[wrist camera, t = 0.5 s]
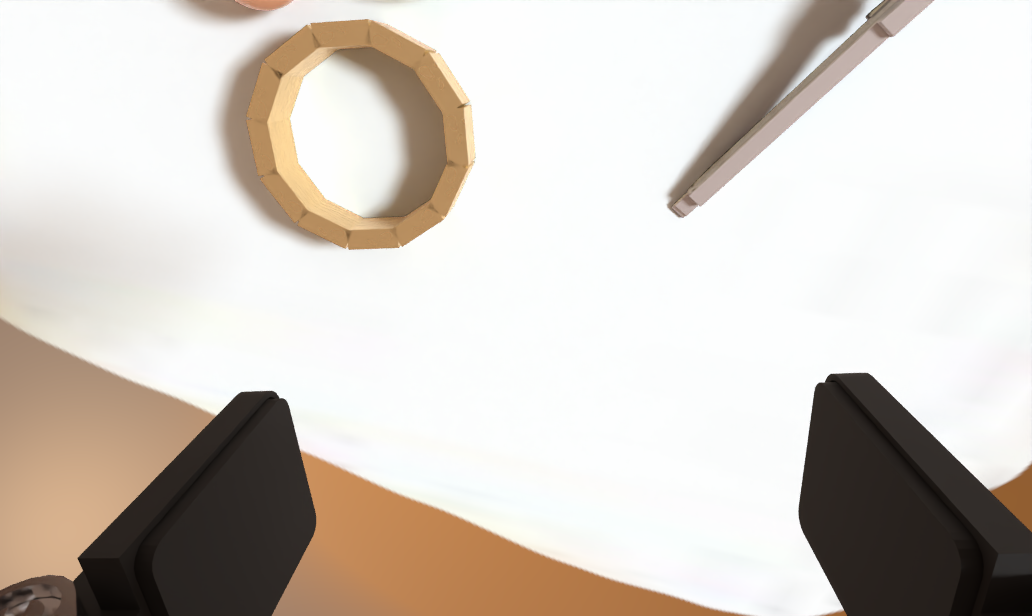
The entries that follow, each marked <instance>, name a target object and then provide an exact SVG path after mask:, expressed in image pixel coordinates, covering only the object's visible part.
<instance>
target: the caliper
mask: <svg viewBox="0 0 1032 616" xmlns="http://www.w3.org/2000/svg"><path fill="white" fill-rule="evenodd" d="M933 1H934V0H884V1H883V2H881V3H880V4H879V5H878V6H877V7H875V8H874V9H873V10H872V11H871V12H870V13H869V14H868V15H867V16H866V19H867V21H866V22H865V23H864V24H863V25H862V26H861V27H860V28H859V29H858V30H857V31H856V32H855V33H854V34H852V35H851V36H850V37H849V38H848V39H847V40H846V41H845V42H844V43H843V44H842V45H841V46H840V47H839V48H837V49H836V50H835V51H834V52H833V53H832V54H831V55H830V56H829V57H828V58H827V59H826V60H825V61H824V62H823V63H821V64H820V65H819V66H818V67H817V68H816V69H815V70H814V71H813V72H812V73H811V74H810V75H809V76H808V77H806V78H805V79H804V80H803V81H802V82H801V83H800V84H799V85H798V86H797V87H796V88H795V89H794V90H793V91H791V92H790V93H789V94H788V95H787V96H786V97H785V98H784V99H783V100H782V101H781V102H780V103H779V104H778V105H777V106H775V107H774V108H773V109H772V110H771V111H770V112H769V113H768V114H767V115H766V116H765V117H764V118H763V119H761V120H760V121H759V122H758V123H757V124H756V125H755V126H754V127H753V128H752V129H751V130H750V131H749V132H747V133H746V134H745V135H744V136H743V137H742V138H741V139H740V140H739V141H738V142H737V143H736V144H735V145H734V146H732V147H731V148H730V149H729V150H728V151H727V152H726V153H725V154H724V155H723V156H722V157H721V158H720V159H718V160H717V161H716V162H715V163H714V164H713V165H712V166H711V167H710V168H709V169H708V170H707V171H706V172H705V173H704V174H703V175H702V176H701V177H700V178H699V179H698V180H697V181H696V182H695V183H694V184H693V185H692V186H691V187H690V188H689V189H688V190H687V193H685V194H684V195H683V196H682V197H681V198H680V199H679V200H678V201H677V202H676V203H675V204H674V205H673V206H672V207H671V208H672V209H673V210H675V211H676V212H677V213H678V214H679V215H680V216H681V217H682V218H684V217H685V216H687V215H688V214H689V213H690V212H691V211H693V210H694V209H695V208H696V207H697V206H698V205H699V206H700V207H701V206H702V205H703V204H704V203H705V202H706V201H707V200H709V199H710V198H711V197H712V196H713V195H714V194H715V193H716V192H718V191H719V190H720V189H721V188H722V187H723V186H724V185H725V184H726V183H728V182H729V181H730V180H731V179H732V178H733V177H734V176H735V175H736V174H738V173H739V172H740V171H741V170H742V169H743V168H744V167H745V166H746V165H748V164H749V163H750V162H751V161H752V160H753V159H754V158H755V157H756V156H758V155H759V154H760V153H761V152H762V151H763V150H764V149H765V148H766V147H768V146H769V145H770V144H771V143H772V142H773V141H774V140H775V139H776V138H778V137H779V136H780V135H781V134H782V133H783V132H784V131H785V130H786V129H788V128H789V127H790V126H791V125H792V124H793V123H794V122H795V121H796V120H798V119H799V118H800V117H801V116H802V115H803V114H804V113H805V112H806V111H807V110H809V109H810V108H811V107H812V106H813V105H814V104H815V103H816V102H817V101H819V100H820V99H821V98H822V97H823V96H824V95H825V94H826V93H827V92H829V91H830V90H831V89H832V88H833V87H834V86H835V85H836V84H837V83H839V82H840V81H841V80H842V79H843V78H844V77H845V76H846V75H847V74H849V73H850V72H851V71H852V70H853V69H854V68H855V67H856V66H857V65H859V64H860V63H861V62H862V61H863V60H864V59H865V58H866V57H867V56H869V55H870V54H871V53H872V52H873V51H874V50H875V49H876V48H877V47H878V46H880V45H881V44H882V43H883V42H884V41H885V40H886V39H887V38H888V37H893V36H895V35H896V34H897V33H898V32H899V31H900V30H901V29H903V28H904V27H905V26H906V25H907V24H908V23H909V22H910V21H912V20H913V19H914V18H915V17H916V16H917V15H918V14H919V13H921V12H922V11H923V10H924V9H925V8H926V7H927V6H928V5H930V4H931V3H932V2H933Z"/></svg>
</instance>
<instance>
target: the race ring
mask: <svg viewBox="0 0 1032 616" xmlns="http://www.w3.org/2000/svg"><path fill="white" fill-rule="evenodd" d="M367 47H373V48H375V49H376V50H378V51H380V52H382V53H384V54H386V55H388V56H390V57H391V58H393V59H395V60H397V61H399V62H401V63H403V64H405V65H406V66H408V67H410V68H412V69H414V71H415V72H416V74H417V76H418V77H419V79H420V80H421V82H422V83H423V85H424V86H425V88H426V89H427V91H428V92H429V94H430V95H431V97H432V98H433V100H434V101H435V103H436V104H437V106H438V107H439V109H440V110H441V112H442V114H443V124H444V134H445V145H446V155H447V165H446V167H445V169H444V171H443V174H442V176H441V178H440V180H439V182H438V185H437V187H436V189H435V191H434V194H433V196H432V198H431V199H430V200H429V201H427V202H426V203H424V204H423V205H421V206H420V207H418V208H417V209H415V210H414V211H412V212H411V213H409V214H408V215H406V216H405V217H383V218H363V217H361V216H359V215H357V214H354V213H352V212H350V211H348V210H346V209H344V208H342V207H340V206H338V205H336V204H334V203H332V202H330V201H328V200H326V199H325V198H324V196H323V195H322V194H321V193H320V191H319V190H318V189H317V187H316V186H315V185H314V183H313V182H312V181H311V179H310V178H309V177H308V175H307V174H306V173H305V171H304V170H303V169H302V168H301V166H300V165H299V164H298V159H297V154H296V149H295V144H294V138H293V133H292V128H291V123H290V116H291V113H292V110H293V107H294V104H295V101H296V98H297V95H298V92H299V89H300V86H301V83H302V80H303V77H304V76H305V75H306V74H307V73H309V72H310V71H311V70H312V69H314V68H315V67H316V66H318V65H319V64H320V63H321V62H323V61H324V60H325V59H326V58H328V57H329V56H330V55H331V54H333V53H334V52H335V51H336V50H338V49H352V48H367ZM265 61H266V63H262V65H261V69H260V72H259V75H258V79H257V82H256V85H255V89H254V92H253V95H252V99H251V102H250V105H249V108H248V112H247V115H246V116H247V117H249V118H251V119H250V120H246V122H247V127H248V131H249V136H250V140H251V145H252V150H253V154H254V159H255V163H256V168H257V173H258V176H262V175H265V176H264V177H262V178H261V179H260V180H261V181H262V183H263V184H264V185H265V186H266V188H267V189H268V190H269V191H270V193H271V194H272V195H273V196H274V198H275V199H276V200H277V202H278V203H279V204H280V205H281V207H282V208H283V209H284V210H285V212H286V213H287V214H288V215H289V217H290V218H291V219H292V221H293V222H294V223H296V222H297V221H299V223H298V226H299V227H302V228H304V229H306V230H308V231H310V232H312V233H314V234H316V235H318V236H320V237H322V238H324V239H326V240H328V241H330V242H332V243H334V244H336V245H338V246H341V247H343V248H345V249H346V248H347V247H348V248H349V250H351V249H378V248H399V247H400V246H404V245H406V244H407V243H409V242H410V241H412V240H413V239H415V238H416V237H418V236H419V235H421V234H422V233H424V232H425V231H427V230H428V229H430V228H431V227H433V226H435V225H436V224H438V223H439V222H441V221H442V220H444V218H445V217H446V216H447V215H448V213H449V212H450V211H451V209H452V208H453V207H454V205H455V203H456V201H457V199H458V196H459V194H460V192H461V190H462V188H463V186H464V184H465V181H466V179H467V177H468V175H469V173H470V171H471V169H472V166H473V164H474V162H475V161H473V160H474V159H475V147H474V135H473V122H472V110H471V105H465V104H467V103H468V102H469V99H468V97H467V96H466V94H465V93H464V91H463V90H462V88H461V86H460V85H459V83H458V82H457V80H456V79H455V77H454V76H453V74H452V72H451V71H450V69H449V68H448V66H447V65H446V63H445V62H444V60H443V58H442V57H441V55H440V54H439V53H436V50H434V49H432V48H430V47H429V46H427V45H425V44H423V43H421V42H419V41H417V40H416V39H414V38H412V37H410V36H408V35H406V34H405V33H403V32H401V31H399V30H397V29H395V28H393V27H392V26H390V25H388V24H385V23H381V22H377V21H373V20H368V19H365V20H351V21H336V22H322V23H311V25H306V26H305V27H303V28H302V29H301V30H300V31H299V32H297V33H296V34H295V35H294V36H293V37H291V38H290V39H289V40H288V41H286V42H285V43H284V44H283V45H282V46H280V47H279V48H278V49H277V50H275V51H274V52H273V53H272V54H271V55H269V56H268V57H267V58H266V59H265Z"/></svg>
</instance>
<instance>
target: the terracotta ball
mask: <svg viewBox="0 0 1032 616" xmlns="http://www.w3.org/2000/svg"><path fill="white" fill-rule="evenodd" d="M234 1H236V2H238V3H239V4H241V5H243V6H246V7H248V8H252V9H255V10H264V11H270V10H276V9H279V8H282V7H284V6H286V5H288V4H290V3H291V2H292V1H293V0H234Z"/></svg>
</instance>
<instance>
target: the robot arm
mask: <svg viewBox="0 0 1032 616" xmlns="http://www.w3.org/2000/svg"><path fill="white" fill-rule="evenodd" d="M799 521H800V525H801V528H802V531H803V533H804V535H805V537H806V539H807V541H808V542H809V544H810V546H811V548H812V550H813V552H814V554H815V556H816V558H817V559H818V561H819V563H820V565H821V567H822V569H823V571H824V573H825V575H826V576H827V578H828V580H829V582H830V584H831V586H832V588H833V590H834V592H835V594H836V595H837V597H838V599H839V601H840V603H841V605H842V607H843V609H844V611H845V612H846V614H847V616H1032V532H1031V531H1030V530H1029V529H1028V528H1027V527H1026V526H1024V524H1022V523H1021V522H1020V521H1019V520H1018V519H1017V518H1016V517H1015V516H1014V515H1013V514H1012V513H1011V512H1010V511H1009V510H1008V509H1007V508H1006V507H1005V506H1004V505H1003V504H1002V503H1001V502H1000V501H999V500H998V499H997V498H996V497H995V496H994V495H993V494H992V493H991V492H990V491H989V490H988V489H987V488H986V487H985V486H984V485H983V484H982V483H981V482H980V481H979V480H978V479H977V478H976V477H975V476H974V475H973V474H971V473H970V472H969V471H968V470H967V469H966V468H965V467H964V466H963V465H962V464H961V463H960V462H959V461H958V460H957V459H956V458H955V457H954V456H953V455H952V454H951V453H950V452H949V451H948V450H947V449H946V448H945V447H944V446H943V445H942V444H941V443H940V442H939V441H938V440H937V439H936V438H935V437H934V436H933V435H932V434H931V433H930V432H929V431H928V430H927V429H926V428H925V427H924V426H923V425H922V424H920V423H919V422H918V421H917V420H916V419H915V418H914V417H913V416H912V415H911V414H910V413H909V412H908V411H907V410H906V409H905V408H904V407H903V406H902V405H901V404H900V403H899V402H898V401H897V400H896V399H895V398H894V397H893V396H892V395H891V394H890V393H889V392H888V391H887V390H886V389H885V388H884V387H883V386H882V385H881V384H880V383H879V382H878V381H877V380H876V379H875V378H874V377H873V376H871V375H870V374H868V373H844V374H830V375H829V376H828V377H827V379H826V381H825V383H818V384H817V386H816V387H815V392H814V399H813V406H812V413H811V421H810V428H809V436H808V443H807V450H806V458H805V465H804V472H803V480H802V487H801V494H800V502H799ZM315 527H316V513H315V509H314V505H313V501H312V497H311V493H310V489H309V485H308V481H307V477H306V473H305V469H304V465H303V461H302V457H301V453H300V449H299V445H298V441H297V437H296V433H295V429H294V425H293V421H292V417H291V413H290V409H289V405H288V403H287V401H286V400H285V399H283V398H280V399H279V396H278V395H277V393H275V392H274V391H253V392H241V393H239V394H238V395H237V396H236V397H235V398H234V399H233V400H232V401H231V402H230V403H229V404H228V405H227V406H226V407H225V408H224V409H223V410H222V411H221V412H220V413H219V414H218V415H217V416H216V417H215V418H214V419H213V420H212V421H211V422H210V423H209V424H208V425H207V426H206V427H205V429H203V430H202V431H201V432H200V433H199V434H198V435H197V437H196V438H195V439H194V440H193V441H192V442H191V443H190V444H189V445H188V446H187V447H186V448H185V449H184V450H183V451H182V452H181V453H180V454H179V455H178V456H177V457H176V458H175V459H174V460H173V461H172V462H171V463H170V464H169V465H168V466H167V467H166V468H165V469H164V470H163V472H161V473H160V474H159V475H158V476H157V477H156V478H155V479H154V480H153V482H151V484H150V485H149V486H148V487H147V488H146V489H145V490H144V491H143V492H142V493H141V494H140V495H139V496H138V497H137V498H136V499H135V500H134V501H133V502H132V503H131V504H130V505H129V506H128V507H127V508H126V509H125V510H124V511H123V512H122V513H121V514H120V515H119V516H118V517H117V519H115V520H114V521H113V523H111V525H110V526H108V528H107V529H106V530H105V531H104V532H103V533H102V534H101V535H100V536H99V537H98V538H97V539H96V540H95V541H94V542H93V543H92V544H91V545H90V546H89V547H88V548H87V549H86V550H85V551H84V552H83V553H82V554H81V555H80V556H79V557H78V560H79V562H80V565H81V567H82V569H83V572H82V573H81V574H80V575H79V576H78V577H77V578H76V579H75V580H74V581H73V582H72V581H71V580H69V579H67V578H65V577H64V576H55V575H47V576H41V577H35V578H30V579H27V580H24V581H21V582H19V583H16V584H13V585H10V586H8V587H6V588H4V589H2V590H0V616H272V614H273V612H274V610H275V608H276V606H277V604H278V602H279V600H280V598H281V596H282V594H283V593H284V590H285V589H286V587H287V585H288V583H289V581H290V579H291V577H292V575H293V573H294V571H295V570H296V568H297V566H298V564H299V562H300V560H301V558H302V556H303V554H304V552H305V550H306V548H307V546H308V545H309V543H310V541H311V539H312V537H313V535H314V531H315Z"/></svg>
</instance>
